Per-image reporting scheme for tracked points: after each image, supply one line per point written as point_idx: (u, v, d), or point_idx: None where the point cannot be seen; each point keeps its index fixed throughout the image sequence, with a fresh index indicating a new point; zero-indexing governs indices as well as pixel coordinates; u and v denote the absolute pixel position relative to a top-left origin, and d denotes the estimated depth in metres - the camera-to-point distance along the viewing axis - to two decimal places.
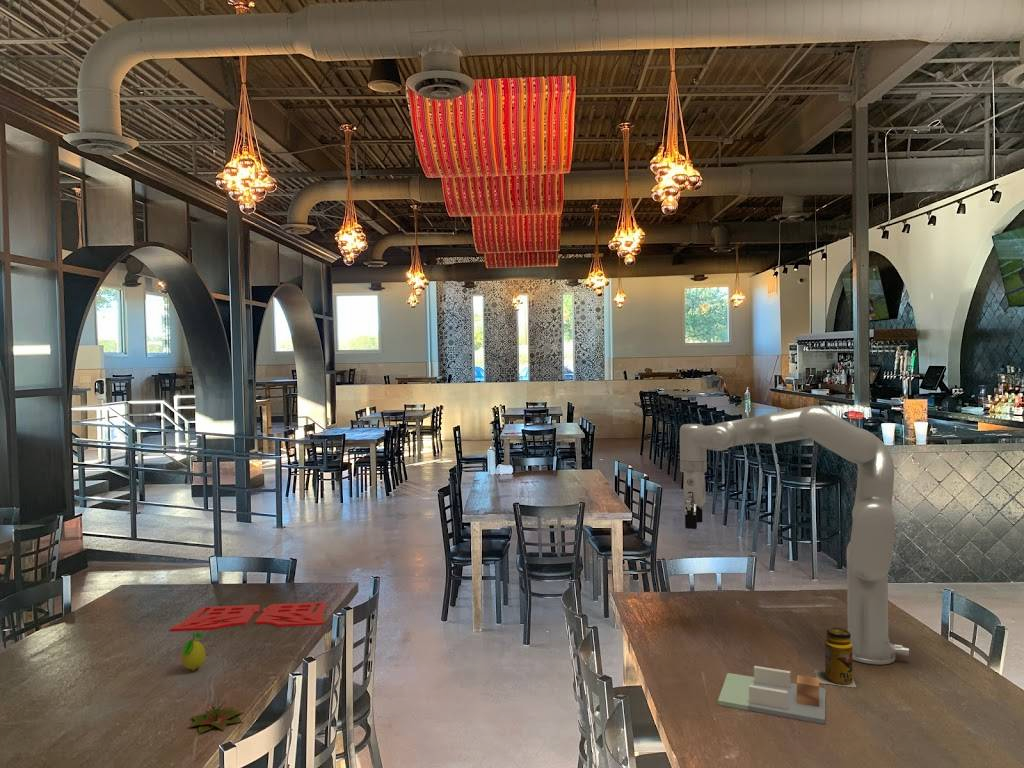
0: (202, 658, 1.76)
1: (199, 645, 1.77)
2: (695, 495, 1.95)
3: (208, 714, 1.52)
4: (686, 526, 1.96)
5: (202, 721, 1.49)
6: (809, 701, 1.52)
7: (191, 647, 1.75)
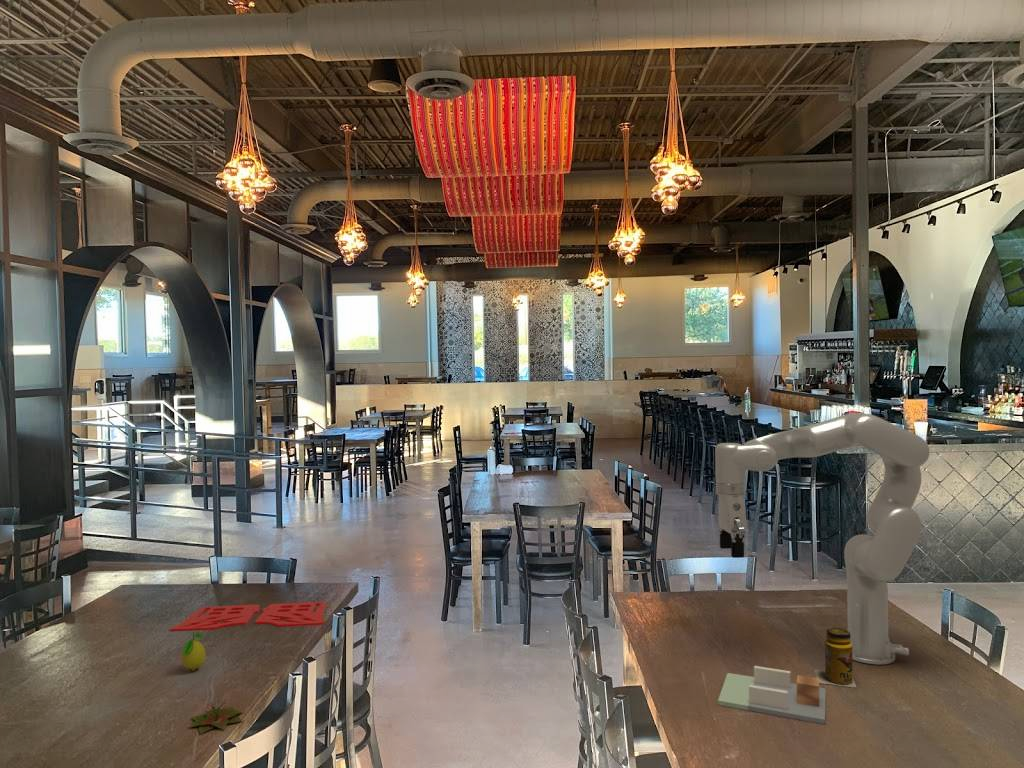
0: (202, 658, 1.76)
1: (199, 645, 1.77)
2: (742, 520, 1.80)
3: (208, 714, 1.52)
4: (733, 555, 1.80)
5: (202, 721, 1.49)
6: (809, 701, 1.52)
7: (191, 647, 1.75)
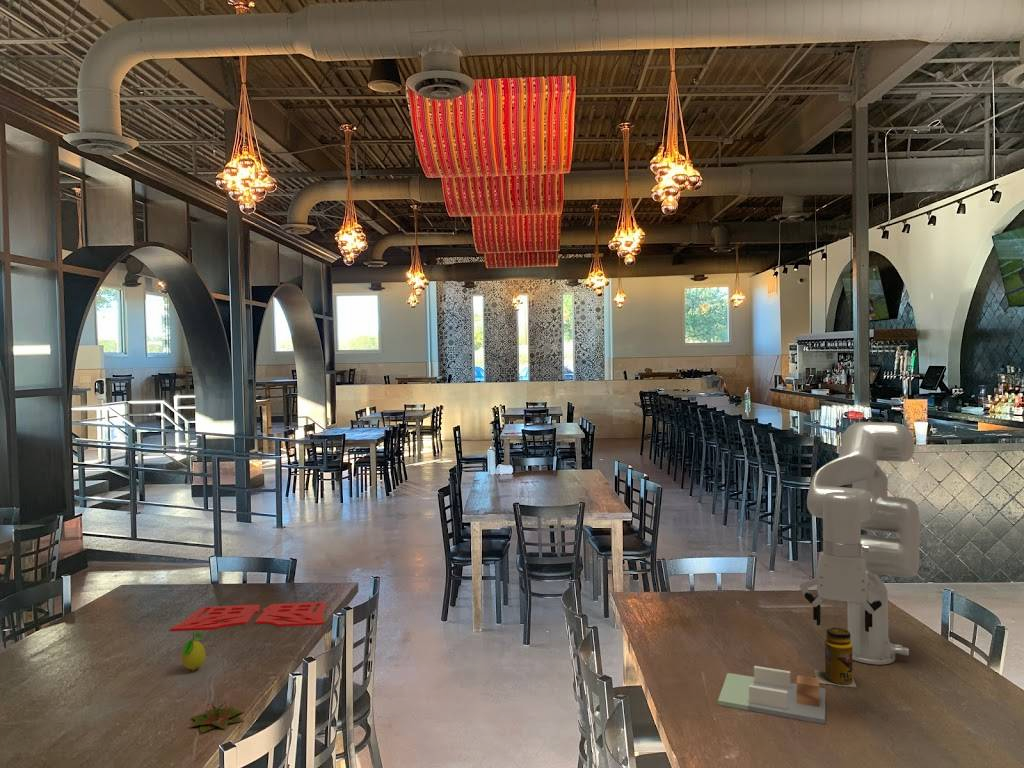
0: (202, 658, 1.76)
1: (199, 645, 1.77)
2: None
3: (208, 714, 1.52)
4: (868, 629, 1.48)
5: (203, 721, 1.49)
6: (809, 701, 1.52)
7: (191, 647, 1.75)
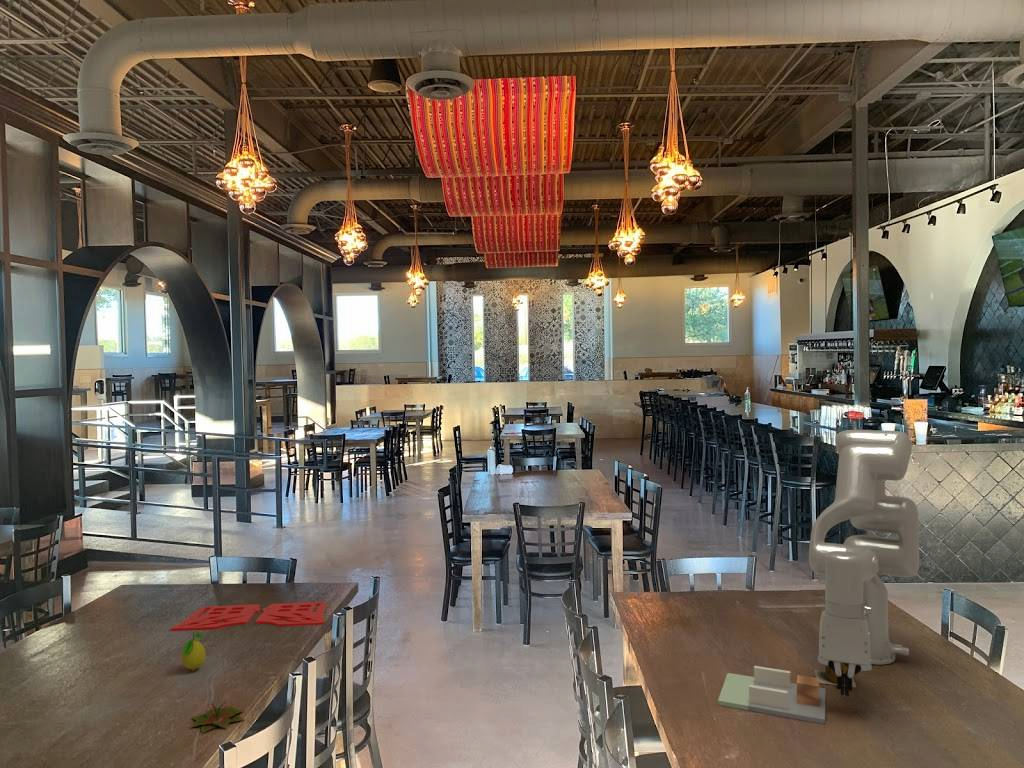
0: (202, 658, 1.76)
1: (199, 645, 1.77)
2: None
3: (209, 714, 1.52)
4: (848, 693, 1.49)
5: (203, 721, 1.49)
6: (809, 701, 1.52)
7: (191, 647, 1.75)
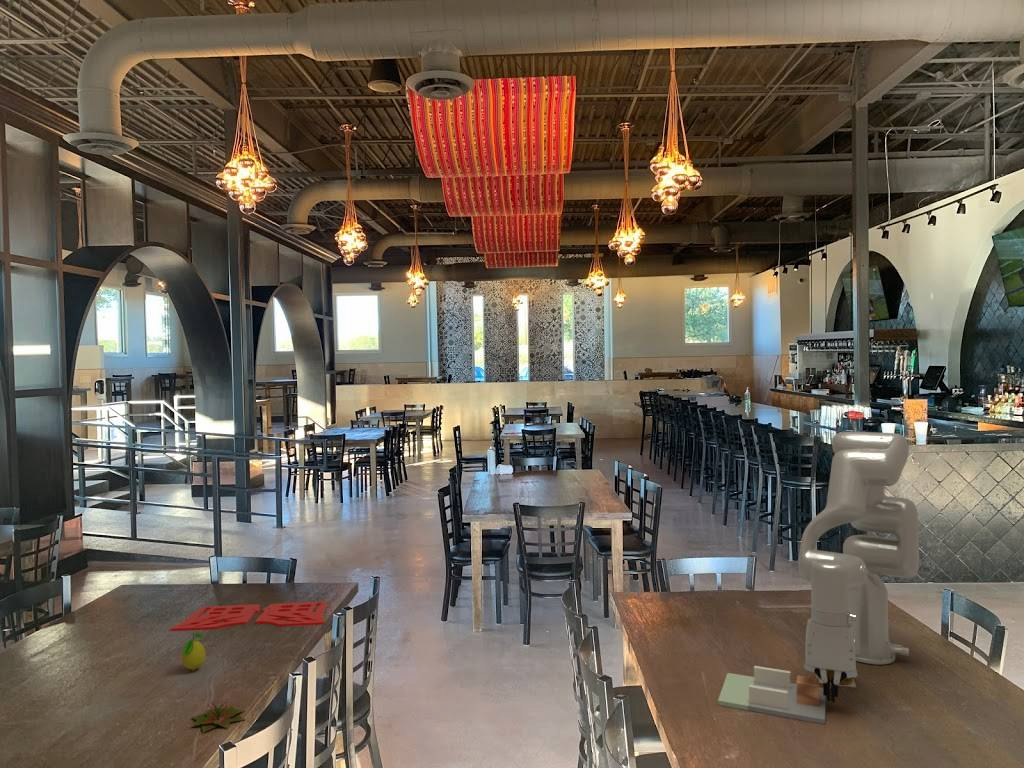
0: (202, 658, 1.76)
1: (199, 645, 1.77)
2: None
3: (209, 713, 1.52)
4: (834, 699, 1.51)
5: (204, 720, 1.49)
6: (809, 701, 1.52)
7: (191, 647, 1.75)
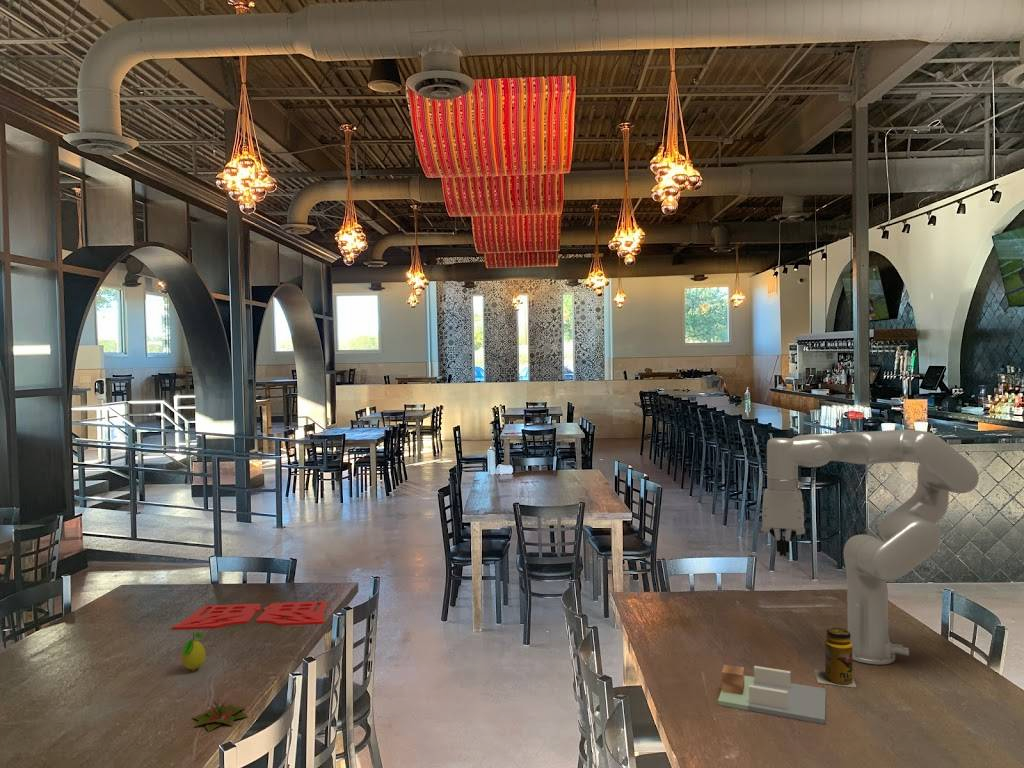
0: (202, 658, 1.76)
1: (199, 645, 1.77)
2: (803, 514, 1.80)
3: (210, 713, 1.53)
4: (786, 554, 1.79)
5: (206, 720, 1.50)
6: (733, 689, 1.58)
7: (191, 647, 1.75)
